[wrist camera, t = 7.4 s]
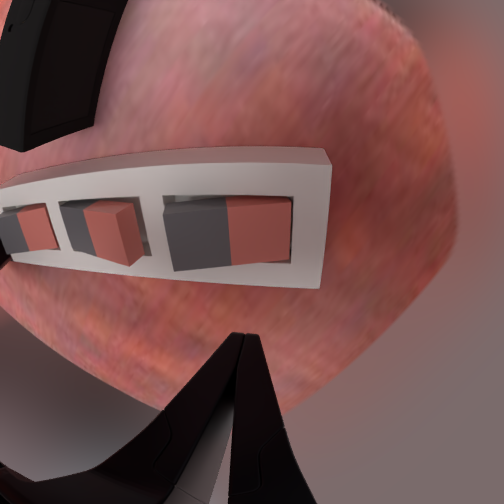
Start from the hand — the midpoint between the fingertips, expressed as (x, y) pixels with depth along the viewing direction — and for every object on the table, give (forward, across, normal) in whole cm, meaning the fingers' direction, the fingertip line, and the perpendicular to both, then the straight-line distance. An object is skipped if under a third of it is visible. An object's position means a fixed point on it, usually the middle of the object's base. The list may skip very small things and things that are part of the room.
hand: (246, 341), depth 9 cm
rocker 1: (+7, +18, 0) cm, 19 cm away
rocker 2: (+7, +10, 0) cm, 12 cm away
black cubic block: (+11, +13, -12) cm, 21 cm away
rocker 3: (+7, +2, 0) cm, 7 cm away
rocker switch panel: (+11, +12, 0) cm, 16 cm away
